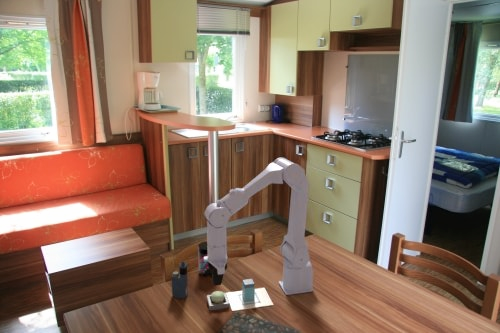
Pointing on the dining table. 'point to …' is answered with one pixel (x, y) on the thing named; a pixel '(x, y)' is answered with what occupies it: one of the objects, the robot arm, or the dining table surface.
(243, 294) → the teal block
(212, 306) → the button housing
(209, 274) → the supplement container
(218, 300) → the button
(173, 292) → the vaping device
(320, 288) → the dining table surface
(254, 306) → the paper
